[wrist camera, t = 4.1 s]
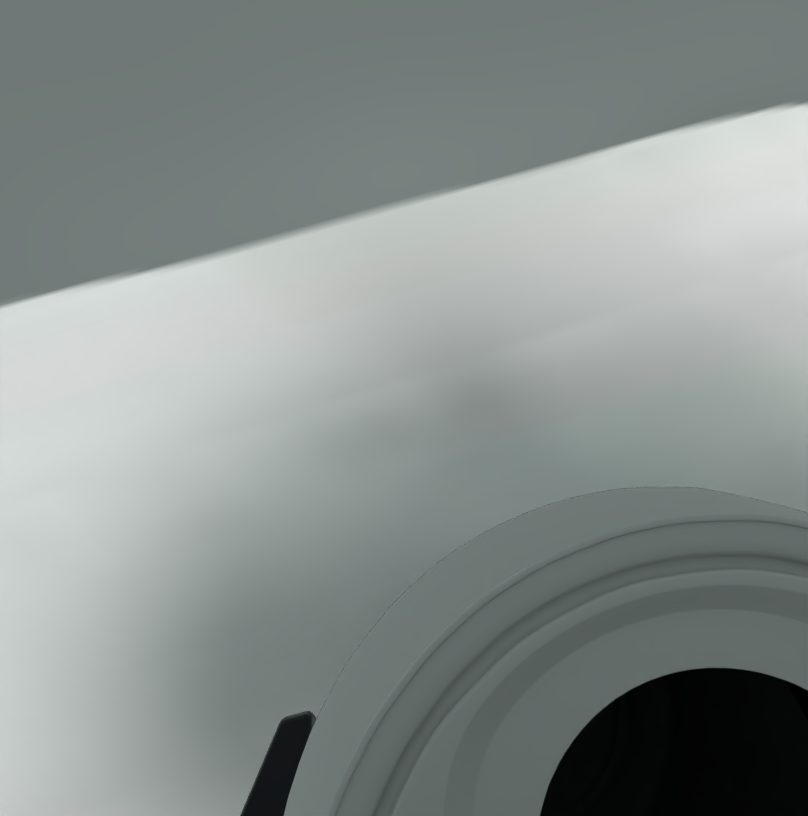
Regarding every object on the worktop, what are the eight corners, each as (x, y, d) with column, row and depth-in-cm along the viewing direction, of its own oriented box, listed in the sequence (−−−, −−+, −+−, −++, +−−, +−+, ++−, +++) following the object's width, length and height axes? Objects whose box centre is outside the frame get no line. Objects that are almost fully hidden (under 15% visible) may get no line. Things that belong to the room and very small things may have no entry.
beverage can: (599, 523, 16) (1031, 334, 5) (708, 816, 14) (1819, 1661, 3) (340, 602, 16) (117, 609, 4) (420, 911, 14) (401, 2279, 3)
